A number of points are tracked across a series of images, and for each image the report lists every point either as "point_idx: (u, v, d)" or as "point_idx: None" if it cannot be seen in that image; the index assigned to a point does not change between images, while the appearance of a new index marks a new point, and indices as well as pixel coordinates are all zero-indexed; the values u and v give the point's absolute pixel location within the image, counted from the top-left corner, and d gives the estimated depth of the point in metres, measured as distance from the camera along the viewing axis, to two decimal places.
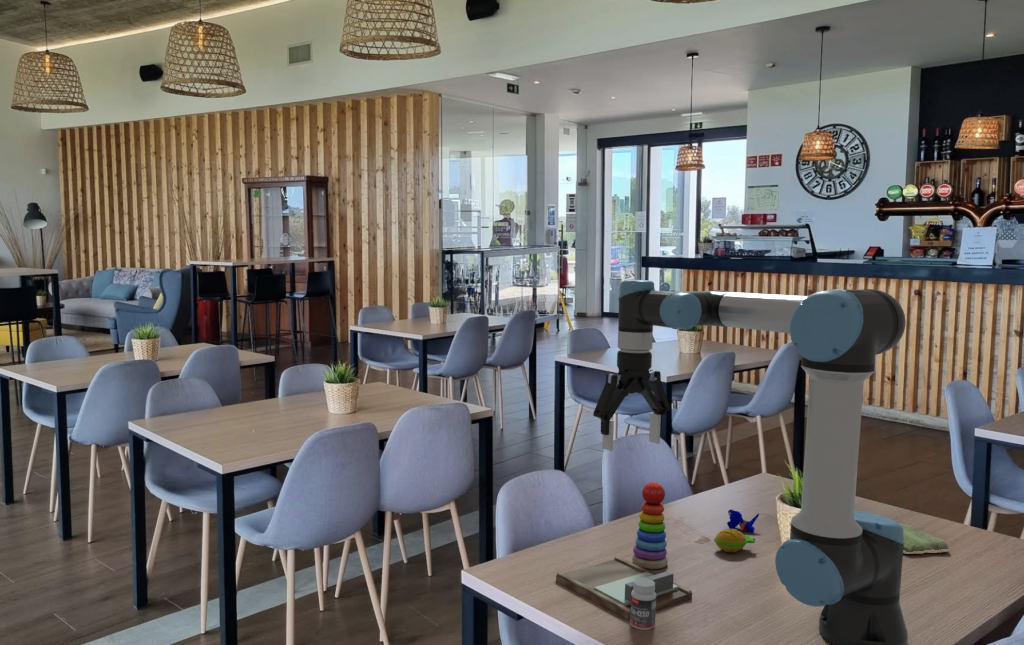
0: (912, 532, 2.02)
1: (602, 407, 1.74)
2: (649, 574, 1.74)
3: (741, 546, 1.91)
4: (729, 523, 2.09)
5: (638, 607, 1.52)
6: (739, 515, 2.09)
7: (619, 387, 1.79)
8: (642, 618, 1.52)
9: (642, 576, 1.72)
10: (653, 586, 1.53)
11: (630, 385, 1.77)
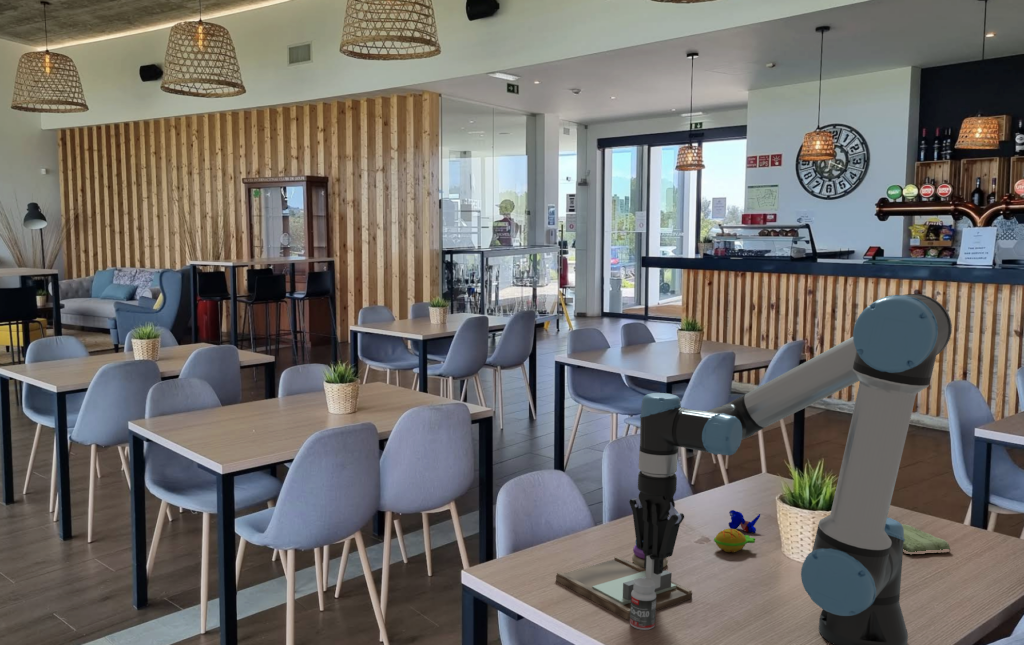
0: (913, 532, 2.02)
1: None
2: None
3: (741, 546, 1.91)
4: (730, 524, 2.08)
5: (638, 607, 1.52)
6: (740, 516, 2.08)
7: None
8: (642, 618, 1.52)
9: (640, 575, 1.73)
10: (653, 586, 1.53)
11: (644, 509, 1.62)
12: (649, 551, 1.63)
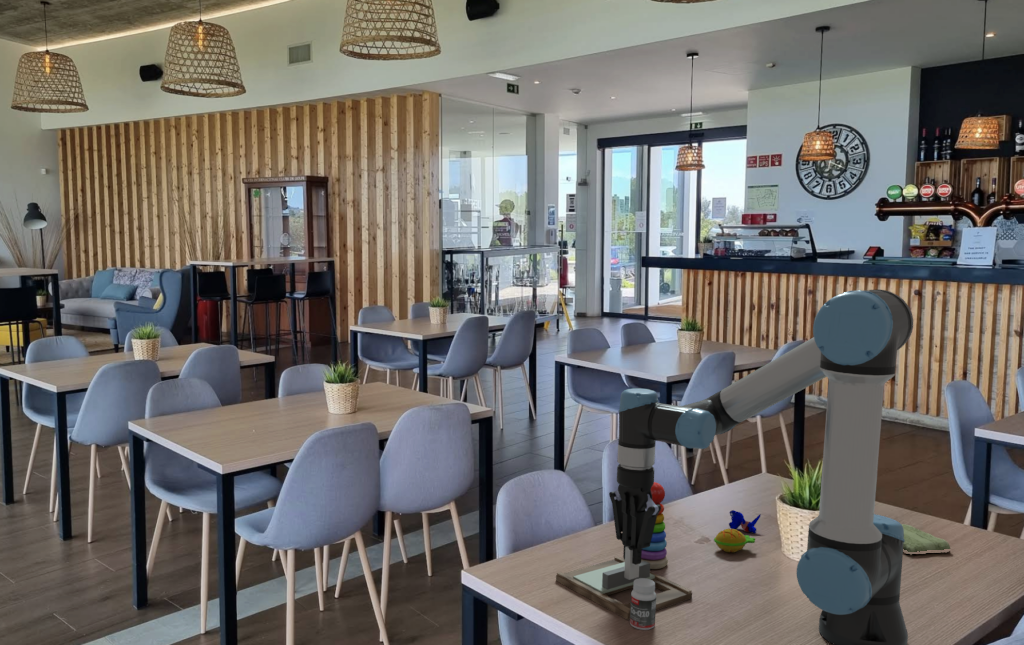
0: (914, 532, 2.02)
1: None
2: None
3: (741, 546, 1.91)
4: (731, 524, 2.08)
5: (638, 607, 1.52)
6: (741, 516, 2.08)
7: None
8: (642, 618, 1.52)
9: (620, 566, 1.78)
10: (653, 586, 1.53)
11: (623, 501, 1.67)
12: (628, 542, 1.68)
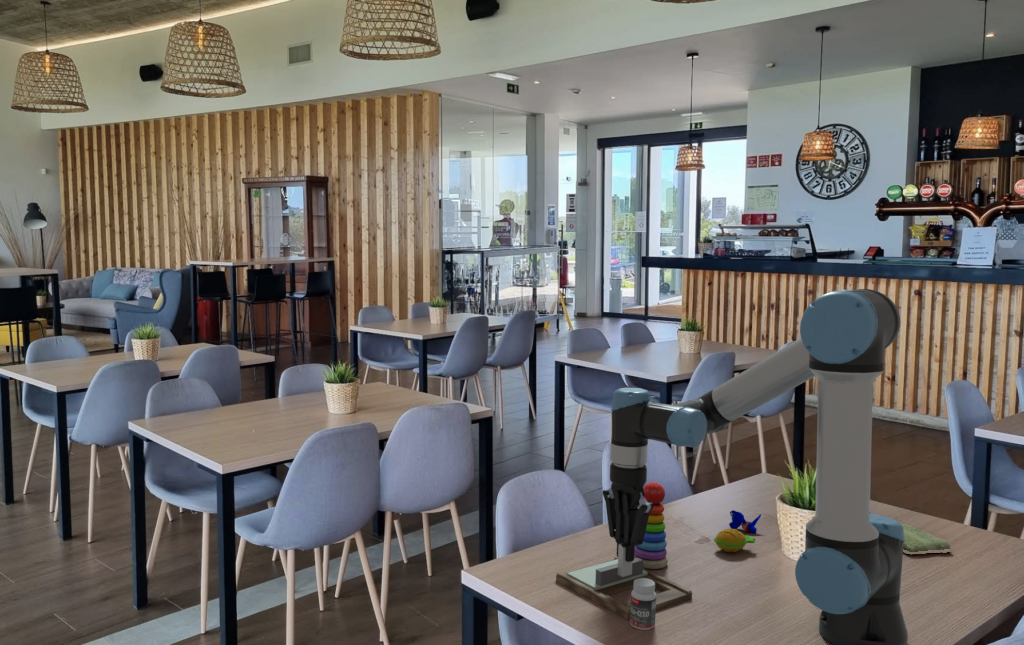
0: (914, 532, 2.02)
1: None
2: None
3: (741, 546, 1.91)
4: (731, 524, 2.08)
5: (638, 607, 1.52)
6: (741, 516, 2.08)
7: None
8: (642, 618, 1.52)
9: (614, 563, 1.80)
10: (653, 586, 1.53)
11: (616, 499, 1.69)
12: (621, 539, 1.69)
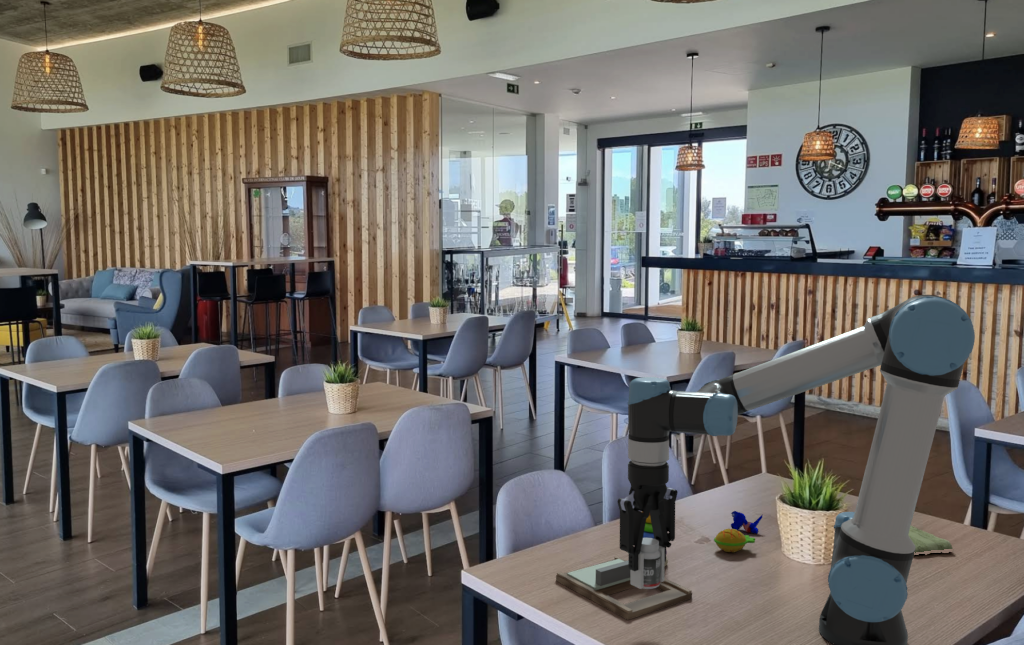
0: (915, 532, 2.02)
1: (627, 541, 1.49)
2: (621, 561, 1.81)
3: (741, 546, 1.91)
4: (733, 525, 2.08)
5: None
6: (743, 516, 2.07)
7: (635, 507, 1.52)
8: (646, 577, 1.51)
9: (614, 563, 1.80)
10: (657, 544, 1.52)
11: (647, 505, 1.50)
12: None
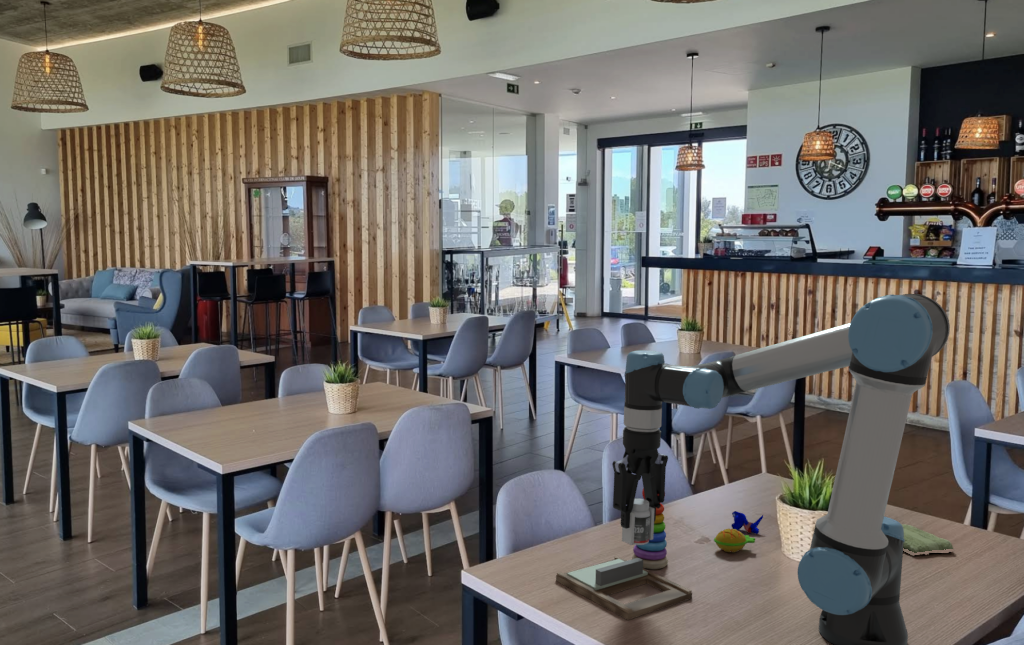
0: (916, 532, 2.02)
1: (620, 500, 1.61)
2: (621, 561, 1.81)
3: (741, 546, 1.91)
4: (733, 525, 2.07)
5: None
6: (743, 517, 2.07)
7: (629, 470, 1.65)
8: (636, 534, 1.64)
9: (614, 563, 1.80)
10: (647, 504, 1.64)
11: (639, 468, 1.62)
12: None
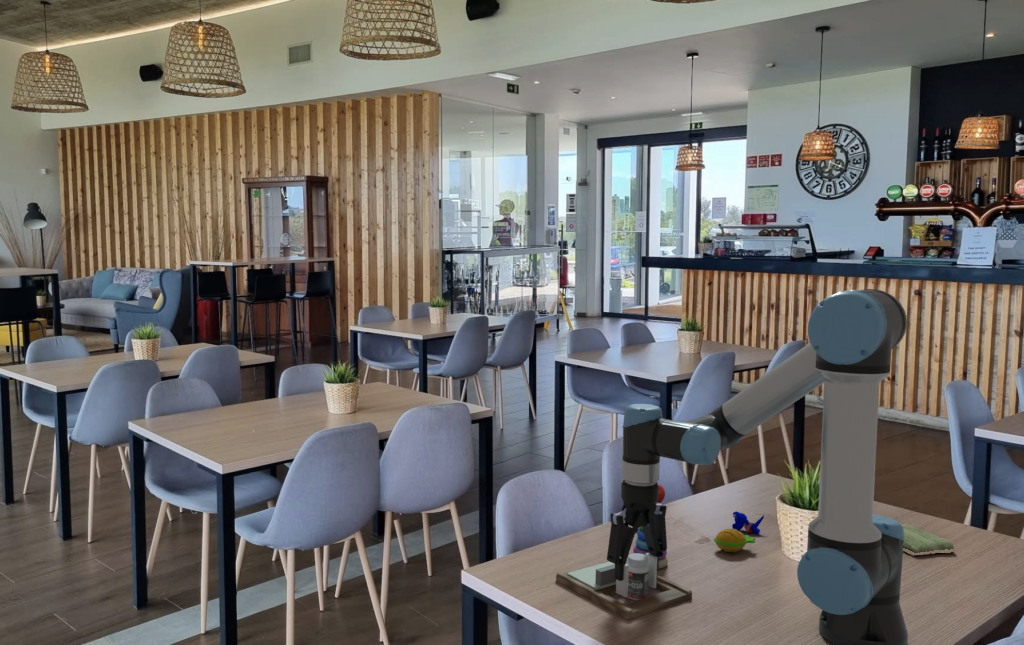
0: (917, 533, 2.02)
1: (615, 553, 1.61)
2: None
3: (741, 546, 1.91)
4: (734, 525, 2.07)
5: (632, 579, 1.65)
6: (744, 517, 2.07)
7: (626, 522, 1.66)
8: (635, 589, 1.65)
9: None
10: (646, 560, 1.65)
11: (637, 521, 1.63)
12: None
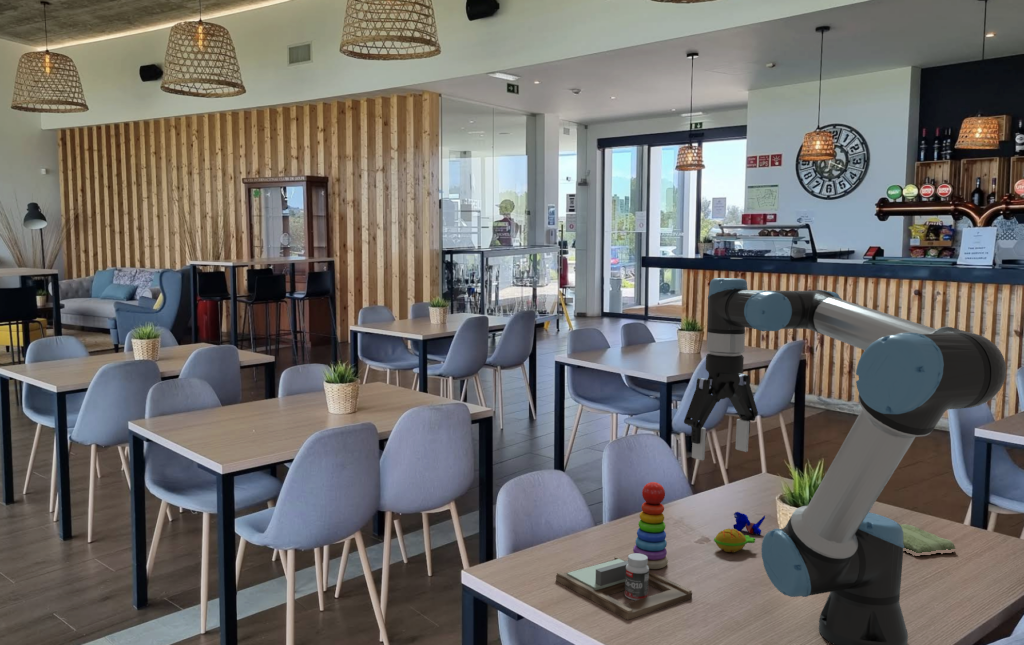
0: (918, 533, 2.02)
1: (694, 414, 1.63)
2: (621, 561, 1.81)
3: (741, 546, 1.91)
4: (735, 526, 2.07)
5: (632, 579, 1.65)
6: (745, 517, 2.07)
7: (709, 392, 1.68)
8: (635, 589, 1.65)
9: (614, 563, 1.80)
10: (646, 560, 1.65)
11: (722, 390, 1.66)
12: None
